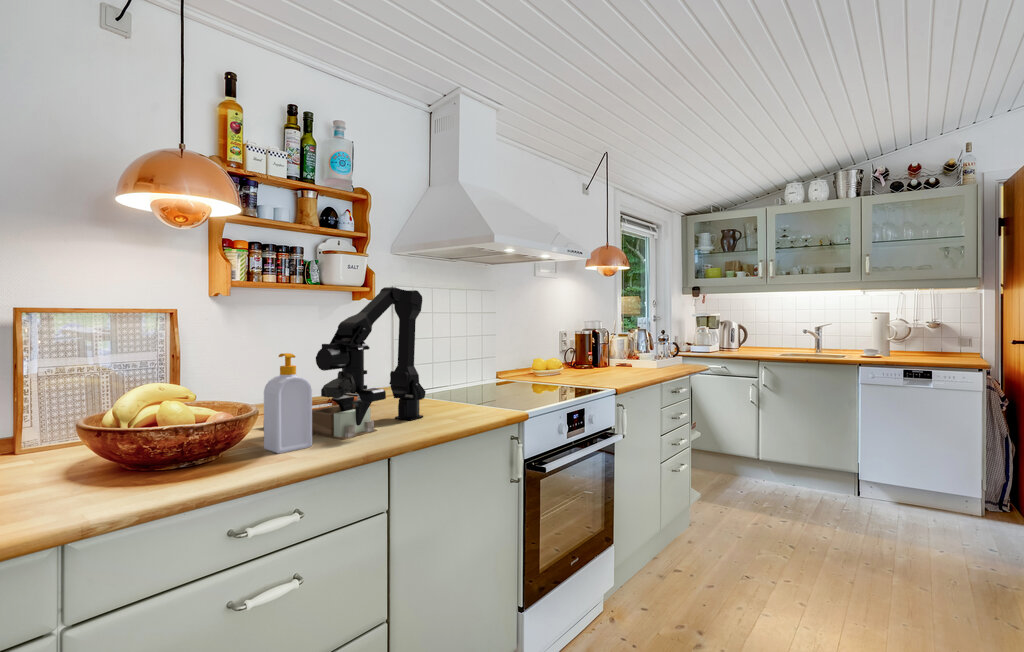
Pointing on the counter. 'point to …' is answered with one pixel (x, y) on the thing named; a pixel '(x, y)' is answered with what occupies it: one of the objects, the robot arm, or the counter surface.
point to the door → (348, 421)
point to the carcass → (325, 424)
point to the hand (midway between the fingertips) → (353, 424)
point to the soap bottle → (287, 410)
